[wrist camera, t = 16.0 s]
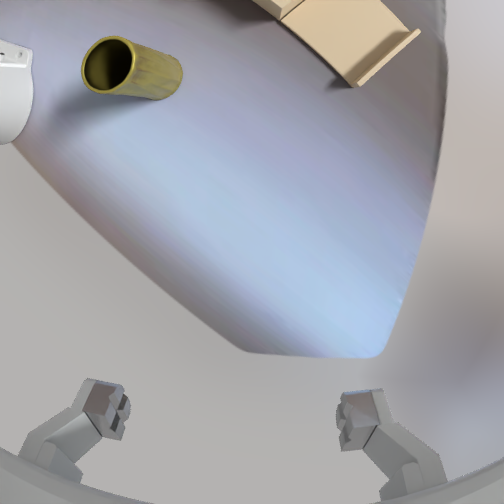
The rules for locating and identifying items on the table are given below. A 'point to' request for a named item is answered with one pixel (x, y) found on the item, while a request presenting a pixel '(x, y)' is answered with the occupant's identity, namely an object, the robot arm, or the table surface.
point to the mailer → (345, 33)
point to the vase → (130, 69)
